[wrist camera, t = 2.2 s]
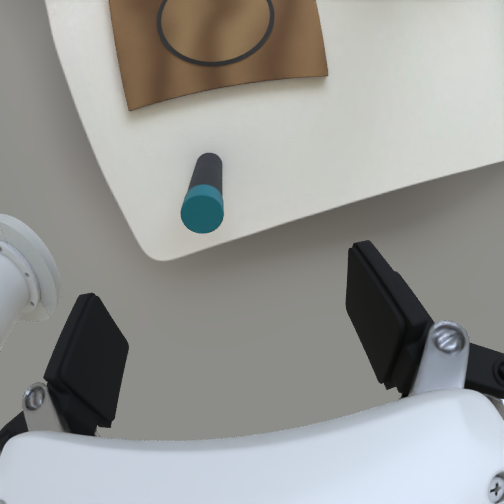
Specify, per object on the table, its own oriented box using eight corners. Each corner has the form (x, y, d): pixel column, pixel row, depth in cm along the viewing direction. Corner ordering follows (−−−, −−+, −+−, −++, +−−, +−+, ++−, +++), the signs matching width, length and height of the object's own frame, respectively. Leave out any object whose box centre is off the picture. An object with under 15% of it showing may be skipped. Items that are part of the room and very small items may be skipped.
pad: (130, 110, 22) (128, 111, 21) (109, -13, 14) (106, -15, 13) (326, 76, 22) (329, 76, 21) (302, -46, 14) (304, -49, 13)
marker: (199, 180, 26) (186, 237, 17) (193, 155, 25) (175, 199, 16) (225, 174, 26) (227, 229, 17) (219, 149, 25) (218, 190, 16)
